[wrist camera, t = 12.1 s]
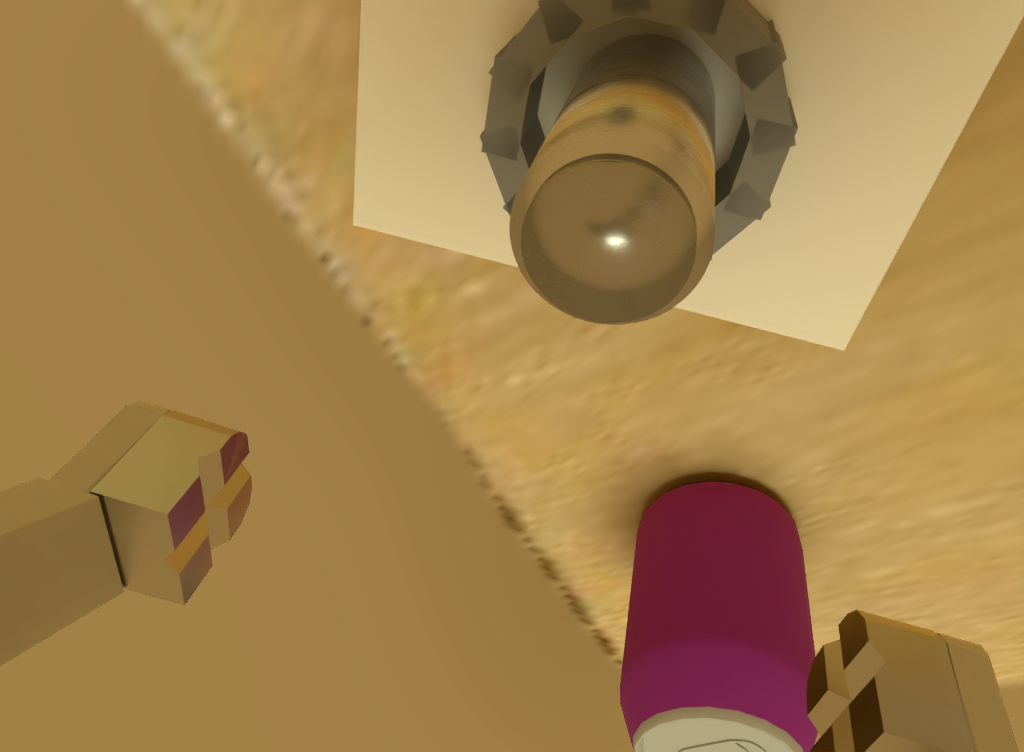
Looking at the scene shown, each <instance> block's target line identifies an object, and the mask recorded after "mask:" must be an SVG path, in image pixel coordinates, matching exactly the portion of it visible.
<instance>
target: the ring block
mask: <svg viewBox="0 0 1024 752" xmlns="http://www.w3.org/2000/svg"><path fill="white" fill-rule="evenodd" d="M1023 17H1024V0H361V20H360V47H359V74H358V101H357V128H356V155H355V182H354V210H353V225H355V226H359V227H363V228H367V229H371V230H375V231H379V232H382V233H386V234H390V235H394V236H398V237H402V238H406V239H410V240H414V241H418V242H422V243H425V244H429V245H433V246H437V247H441V248H445V249H449V250H453V251H457V252H461V253H465V254H468V255H472V256H476V257H480V258H484V259H488V260H492V261H496V262H500V263H504V264H507V265H511V266H515V267H518V264H517V262H516V260H515V257H514V254H513V251H512V247H511V241H510V229H509V223H510V214H511V209H512V205H513V201H514V198H515V196H516V193H517V191H518V189H519V187H520V185H521V183H522V181H523V179H524V178H525V176H526V174H527V172H528V170H529V168H530V166H531V165H532V163H533V161H534V159H535V157H536V155H537V154H538V152H539V150H540V148H541V146H542V144H543V143H544V141H545V139H546V137H547V135H548V133H549V131H550V130H551V128H552V126H553V124H554V122H555V120H556V119H557V117H558V115H559V113H560V111H561V109H562V108H563V106H564V104H565V102H566V100H567V98H568V96H569V95H570V93H571V91H572V89H573V87H574V85H575V84H576V82H577V80H578V78H579V76H580V74H581V73H582V71H583V69H584V68H585V66H586V65H587V64H588V62H589V61H590V60H591V59H592V58H593V57H594V56H595V55H596V54H597V53H598V52H599V51H600V50H601V49H603V48H604V47H605V46H607V45H609V44H611V43H612V42H614V41H616V40H619V39H621V38H624V37H628V36H631V35H638V34H655V35H662V36H665V37H668V38H672V39H674V40H676V41H678V42H680V43H682V44H683V45H685V46H686V47H688V48H689V49H690V50H691V51H693V52H694V53H695V54H696V55H697V56H698V58H699V59H700V60H701V61H702V62H703V64H704V66H705V67H706V69H707V71H708V73H709V75H710V77H711V80H712V83H713V87H714V92H715V241H714V248H713V253H712V256H711V259H710V263H709V265H708V267H707V269H706V272H705V274H704V275H703V277H702V279H701V280H700V282H699V283H698V285H697V286H696V287H695V288H694V289H693V291H692V292H691V293H690V294H689V295H688V296H687V297H686V298H685V299H684V300H682V301H681V302H680V303H679V304H677V305H676V306H674V307H676V308H679V309H683V310H687V311H691V312H695V313H699V314H703V315H707V316H711V317H715V318H719V319H722V320H726V321H730V322H734V323H738V324H742V325H746V326H750V327H754V328H758V329H762V330H765V331H769V332H773V333H777V334H781V335H785V336H789V337H793V338H797V339H801V340H804V341H808V342H812V343H816V344H820V345H824V346H828V347H832V348H836V349H840V350H844V349H845V348H846V346H847V344H848V342H849V340H850V338H851V336H852V335H853V333H854V331H855V329H856V327H857V325H858V323H859V322H860V320H861V318H862V316H863V314H864V312H865V310H866V309H867V307H868V305H869V303H870V301H871V299H872V297H873V296H874V294H875V292H876V290H877V288H878V286H879V284H880V283H881V281H882V279H883V277H884V275H885V273H886V271H887V270H888V268H889V266H890V264H891V262H892V260H893V258H894V257H895V255H896V253H897V251H898V249H899V247H900V245H901V243H902V242H903V240H904V238H905V236H906V234H907V232H908V230H909V229H910V227H911V225H912V223H913V221H914V219H915V217H916V216H917V214H918V212H919V210H920V208H921V206H922V204H923V203H924V201H925V199H926V197H927V195H928V193H929V191H930V190H931V188H932V186H933V184H934V182H935V180H936V178H937V177H938V175H939V173H940V171H941V169H942V167H943V165H944V164H945V162H946V160H947V158H948V156H949V154H950V152H951V151H952V149H953V147H954V145H955V143H956V141H957V139H958V138H959V136H960V134H961V132H962V130H963V128H964V126H965V125H966V123H967V121H968V119H969V117H970V115H971V113H972V112H973V110H974V108H975V106H976V104H977V102H978V100H979V98H980V97H981V95H982V93H983V91H984V89H985V87H986V85H987V84H988V82H989V80H990V78H991V76H992V74H993V72H994V71H995V69H996V67H997V65H998V63H999V61H1000V59H1001V58H1002V56H1003V54H1004V52H1005V50H1006V48H1007V46H1008V45H1009V43H1010V41H1011V39H1012V37H1013V35H1014V33H1015V32H1016V30H1017V28H1018V26H1019V24H1020V22H1021V20H1022V19H1023Z"/></svg>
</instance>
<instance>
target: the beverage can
mask: <svg viewBox="0 0 1024 752" xmlns="http://www.w3.org/2000/svg"><path fill="white" fill-rule="evenodd" d="M814 658H815V650H814V641H813V633H812V625H811V616H810V608H809V599H808V591H807V583H806V574H805V566H804V557H803V549H802V546H801V542H800V538H799V535H798V532H797V528H796V525H795V521H794V519H793V518H792V517H791V516H790V515H789V513H788V512H787V511H786V510H785V509H784V507H783V506H782V505H781V504H780V503H778V502H777V501H775V500H774V499H772V498H770V497H769V496H767V495H766V494H764V493H762V492H761V491H758V490H755V489H752V488H749V487H745V486H742V485H739V484H736V483H727V482H715V481H708V482H701V483H694V484H688V485H683V486H681V487H678V488H676V489H674V490H671V491H669V492H666V493H664V494H662V495H661V496H660V497H659V498H658V499H657V500H655V501H654V502H653V503H652V504H651V505H650V506H649V507H648V508H647V510H646V512H645V514H644V516H643V518H642V520H641V522H640V525H639V529H638V532H637V540H636V549H635V558H634V567H633V576H632V584H631V593H630V602H629V611H628V620H627V629H626V638H625V647H624V656H623V665H622V674H621V683H620V704H621V707H622V711H623V714H624V718H625V722H626V725H627V728H628V732H629V736H630V740H631V743H632V747H633V751H634V752H810V750H811V748H812V747H813V746H814V743H815V740H816V737H817V734H818V731H817V729H816V728H815V726H814V725H813V723H812V722H811V720H810V719H809V717H808V716H807V701H806V693H807V680H808V676H809V673H810V670H811V666H812V663H813V660H814Z"/></svg>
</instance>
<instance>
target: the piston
mask: <svg viewBox="0 0 1024 752" xmlns="http://www.w3.org/2000/svg"><path fill="white" fill-rule="evenodd" d="M509 229H510V241H511V247H512V251H513V254H514V257H515V260H516V262H517V264H518V267H519V269H520V271H521V272H522V274H523V276H524V277H525V279H526V280H527V282H528V283H529V284H530V285H531V287H532V288H533V289H534V290H535V291H536V292H537V293H538V294H539V295H540V296H541V297H542V298H543V299H544V300H546V301H547V302H548V303H550V304H551V305H552V306H554V307H555V308H557V309H559V310H561V311H562V312H564V313H566V314H569V315H571V316H573V317H575V318H579V319H582V320H585V321H589V322H594V323H599V324H610V325H614V324H629V323H636V322H640V321H644V320H648V319H651V318H653V317H656V316H658V315H661V314H662V313H664V312H666V311H668V310H670V309H672V308H673V307H674V306H676V305H677V304H679V303H680V302H681V301H682V300H684V299H685V298H686V297H687V296H688V295H689V294H690V293H691V292H692V291H693V289H694V288H695V287H696V286H697V285H698V283H699V282H700V280H701V279H702V277H703V275H704V274H705V272H706V269H707V267H708V265H709V263H710V259H711V256H712V253H713V248H714V241H715V92H714V87H713V83H712V80H711V77H710V75H709V73H708V71H707V69H706V67H705V66H704V64H703V62H702V61H701V60H700V59H699V58H698V56H697V55H696V54H695V53H694V52H693V51H691V50H690V49H689V48H688V47H686V46H685V45H683V44H682V43H680V42H678V41H676V40H674V39H672V38H668V37H665V36H662V35H655V34H638V35H631V36H628V37H624V38H621V39H619V40H616V41H614V42H612V43H611V44H609V45H607V46H605V47H604V48H603V49H601V50H600V51H599V52H598V53H597V54H596V55H595V56H594V57H593V58H592V59H591V60H590V61H589V62H588V64H587V65H586V66H585V68H584V69H583V71H582V73H581V74H580V76H579V78H578V80H577V82H576V84H575V85H574V87H573V89H572V91H571V93H570V95H569V96H568V98H567V100H566V102H565V104H564V106H563V108H562V109H561V111H560V113H559V115H558V117H557V119H556V120H555V122H554V124H553V126H552V128H551V130H550V131H549V133H548V135H547V137H546V139H545V141H544V143H543V144H542V146H541V148H540V150H539V152H538V154H537V155H536V157H535V159H534V161H533V163H532V165H531V166H530V168H529V170H528V172H527V174H526V176H525V178H524V179H523V181H522V183H521V185H520V187H519V189H518V191H517V193H516V196H515V198H514V201H513V205H512V209H511V214H510V223H509Z"/></svg>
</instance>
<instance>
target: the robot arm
mask: <svg viewBox="0 0 1024 752" xmlns="http://www.w3.org/2000/svg"><path fill="white" fill-rule="evenodd" d="M248 453H249V447H248V439H247V434H245V433H242V432H240V431H237V430H234V429H231V428H228V427H224V426H222V425H219V424H215V423H212V422H209V421H206V420H203V419H200V418H196V417H193V416H190V415H187V414H184V413H181V412H178V411H174V410H170V409H167V408H164V407H161V406H158V405H154V404H151V403H148V402H145V401H141V400H138V401H136V402H134V403H131V404H128V405H127V406H125V407H124V408H123V409H122V410H121V411H120V412H119V413H118V414H117V415H116V416H115V417H114V418H113V419H112V420H111V421H110V422H109V423H108V424H107V425H106V426H105V427H104V428H103V429H102V430H101V431H99V433H97V434H96V435H95V436H94V437H93V438H92V439H91V440H90V441H89V442H88V443H87V444H86V445H85V446H84V447H83V448H82V449H81V450H80V451H79V452H78V453H77V454H76V455H75V456H74V457H73V458H72V459H71V460H70V461H69V462H68V463H67V464H65V466H63V467H62V468H61V469H60V470H59V471H58V472H57V473H56V474H55V475H54V476H53V477H52V478H51V479H50V480H49V481H48V480H45V479H41V478H36V479H33V480H31V481H28V482H25V483H22V484H20V485H17V486H14V487H12V488H9V489H6V490H4V491H1V492H0V666H1V665H3V664H5V663H6V662H8V661H10V660H11V659H13V658H15V657H16V656H18V655H20V654H21V653H23V652H24V651H26V650H28V649H30V648H31V647H33V646H35V645H36V644H38V643H39V642H41V641H43V640H45V639H46V638H48V637H50V636H51V635H53V634H55V633H56V632H58V631H60V630H61V629H63V628H65V627H66V626H68V625H70V624H71V623H73V622H75V621H76V620H78V619H80V618H81V617H83V616H85V615H86V614H88V613H90V612H91V611H93V610H95V609H97V608H98V607H100V606H102V605H103V604H105V603H107V602H108V601H110V600H112V599H113V598H115V597H116V596H118V595H120V594H122V593H123V592H124V589H123V588H125V589H129V590H132V591H135V592H139V593H143V594H146V595H150V596H153V597H156V598H160V599H164V600H167V601H171V602H174V603H178V604H181V605H185V604H186V603H187V602H188V600H189V599H190V597H191V596H192V594H193V593H194V592H195V590H196V589H197V587H198V586H199V584H200V583H201V581H202V580H203V578H204V577H205V576H206V574H207V573H208V572H209V570H210V569H211V567H212V566H213V565H212V557H211V549H213V548H215V547H217V546H219V545H221V544H223V543H225V542H227V541H229V540H231V538H232V537H233V535H234V534H235V532H236V531H237V529H238V527H239V526H240V524H241V523H242V520H243V518H244V516H245V513H246V511H247V508H248V506H249V503H250V497H251V490H252V481H251V475H250V473H249V472H248V471H247V469H246V468H245V467H244V466H243V464H242V461H243V460H244V459H245V457H246V456H247V455H248ZM838 626H839V634H840V640H837V641H834V642H831V643H828V644H825V645H823V646H822V648H821V649H820V651H819V652H818V654H817V655H816V657H815V658H814V660H813V663H812V666H811V670H810V673H809V676H808V680H807V693H806V701H807V716H808V717H809V719H810V720H811V722H812V723H813V725H814V726H815V728H816V729H817V731H818V732H819V734H820V735H821V737H820V739H819V740H818V741H817V742H816V744H815V745H814V746H813V747H812V748H811V750H810V752H1019V751H1018V748H1017V745H1016V741H1015V738H1014V735H1013V732H1012V729H1011V725H1010V722H1009V719H1008V716H1007V712H1006V709H1005V706H1004V703H1003V700H1002V696H1001V693H1000V690H999V687H998V684H997V680H996V677H995V674H994V671H993V668H992V664H991V661H990V658H989V655H988V653H987V652H986V651H985V650H984V648H983V647H982V646H981V645H978V644H975V643H971V642H968V641H964V640H961V639H957V638H954V637H950V636H947V635H943V634H940V633H935V632H933V631H931V630H928V629H924V628H920V627H917V626H913V625H910V624H906V623H903V622H899V621H895V620H892V619H888V618H885V617H881V616H877V615H874V614H870V613H867V612H863V611H859V610H854V611H852V612H850V613H848V614H847V615H846V616H845V617H844V619H843V620H842V621H841V623H840V624H839V625H838Z"/></svg>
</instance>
